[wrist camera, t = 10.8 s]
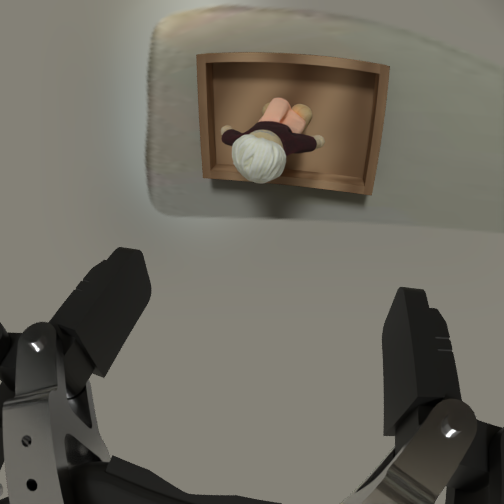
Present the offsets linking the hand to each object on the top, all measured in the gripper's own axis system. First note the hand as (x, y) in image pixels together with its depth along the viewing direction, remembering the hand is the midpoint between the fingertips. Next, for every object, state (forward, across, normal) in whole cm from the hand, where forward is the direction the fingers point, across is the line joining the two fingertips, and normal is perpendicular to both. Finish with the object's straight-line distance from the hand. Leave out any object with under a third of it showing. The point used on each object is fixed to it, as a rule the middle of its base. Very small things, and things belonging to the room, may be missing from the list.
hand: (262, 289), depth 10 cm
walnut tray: (+23, +2, 0) cm, 23 cm away
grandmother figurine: (+22, +3, 0) cm, 22 cm away
